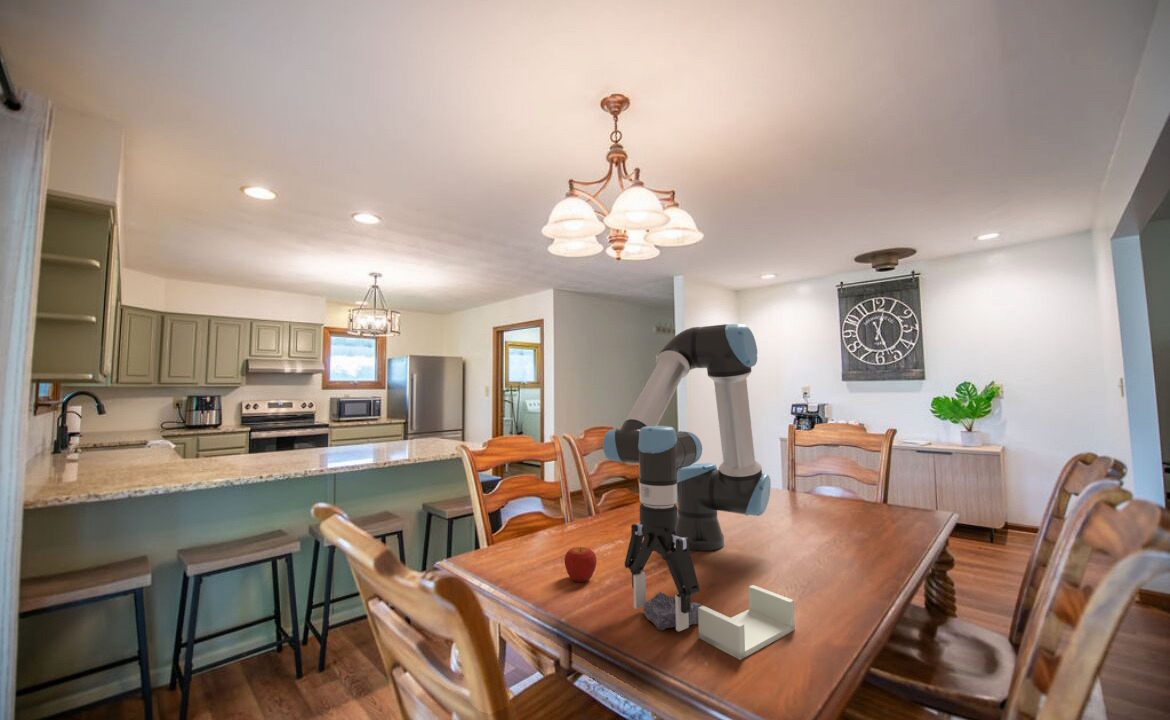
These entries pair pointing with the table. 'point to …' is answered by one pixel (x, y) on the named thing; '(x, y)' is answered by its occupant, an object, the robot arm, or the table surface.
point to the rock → (667, 611)
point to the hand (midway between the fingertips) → (660, 617)
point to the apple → (580, 563)
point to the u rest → (748, 624)
